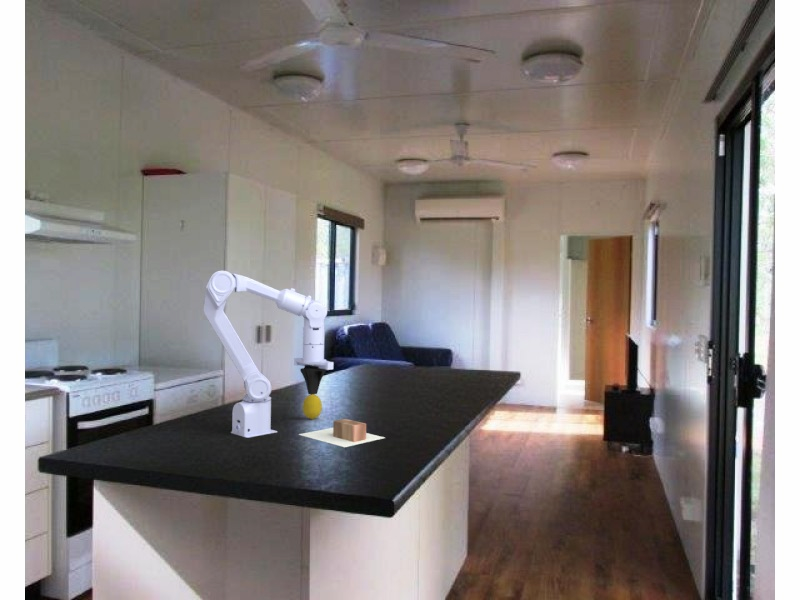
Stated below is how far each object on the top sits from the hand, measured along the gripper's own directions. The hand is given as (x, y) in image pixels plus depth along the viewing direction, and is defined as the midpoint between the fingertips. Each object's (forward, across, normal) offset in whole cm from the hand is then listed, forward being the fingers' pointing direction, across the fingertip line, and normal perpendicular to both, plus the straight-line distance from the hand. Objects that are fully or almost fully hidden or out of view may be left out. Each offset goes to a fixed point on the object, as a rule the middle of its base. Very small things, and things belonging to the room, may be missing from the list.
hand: (312, 393), depth 157 cm
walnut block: (+7, -11, 0) cm, 13 cm away
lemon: (+10, +10, -8) cm, 16 cm away
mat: (+10, -12, 0) cm, 16 cm away
